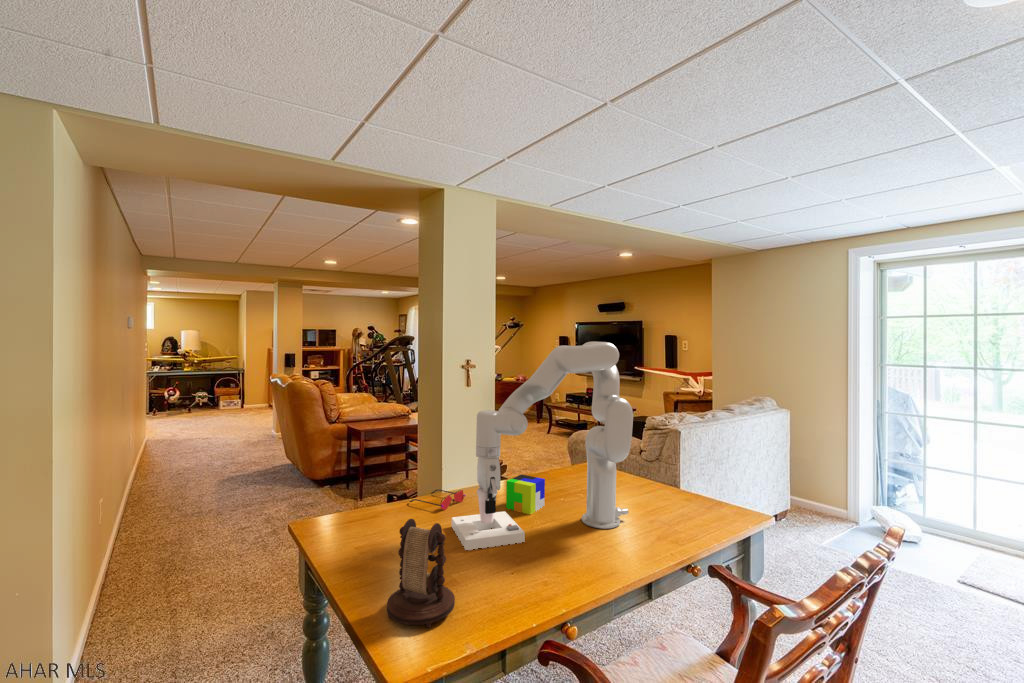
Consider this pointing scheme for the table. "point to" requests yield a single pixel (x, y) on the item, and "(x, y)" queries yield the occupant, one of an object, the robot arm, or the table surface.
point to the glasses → (447, 499)
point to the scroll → (420, 578)
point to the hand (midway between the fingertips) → (487, 508)
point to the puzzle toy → (525, 493)
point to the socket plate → (487, 531)
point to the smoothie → (481, 498)
